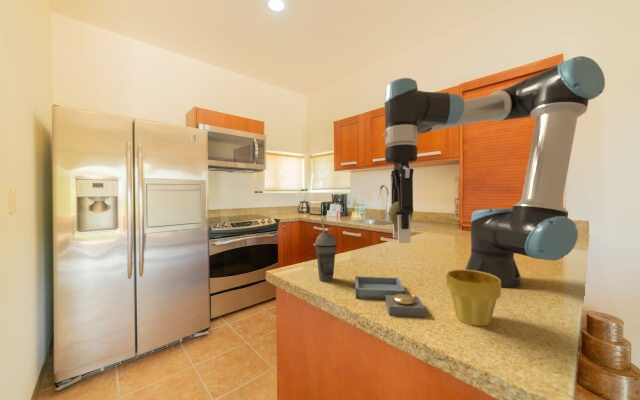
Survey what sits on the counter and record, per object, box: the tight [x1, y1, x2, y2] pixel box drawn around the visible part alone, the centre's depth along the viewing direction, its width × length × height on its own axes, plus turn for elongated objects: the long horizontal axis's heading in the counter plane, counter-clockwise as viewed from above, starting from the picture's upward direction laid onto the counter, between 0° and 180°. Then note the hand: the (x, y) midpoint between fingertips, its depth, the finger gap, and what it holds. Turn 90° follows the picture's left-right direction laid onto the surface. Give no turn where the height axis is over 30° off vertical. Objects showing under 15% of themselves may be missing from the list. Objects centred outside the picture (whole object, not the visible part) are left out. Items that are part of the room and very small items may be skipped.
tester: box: [384, 294, 426, 318], centre depth 62 cm, size 8×7×3 cm
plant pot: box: [446, 269, 502, 327], centre depth 57 cm, size 10×10×10 cm
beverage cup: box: [314, 218, 338, 283], centre depth 84 cm, size 7×7×20 cm
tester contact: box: [393, 293, 415, 305], centre depth 62 cm, size 5×5×1 cm
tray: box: [354, 275, 407, 301], centre depth 74 cm, size 13×11×2 cm
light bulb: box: [388, 201, 414, 241], centre depth 63 cm, size 6×6×10 cm
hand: (401, 240), depth 63 cm, fingers closed on light bulb, 6 cm apart
